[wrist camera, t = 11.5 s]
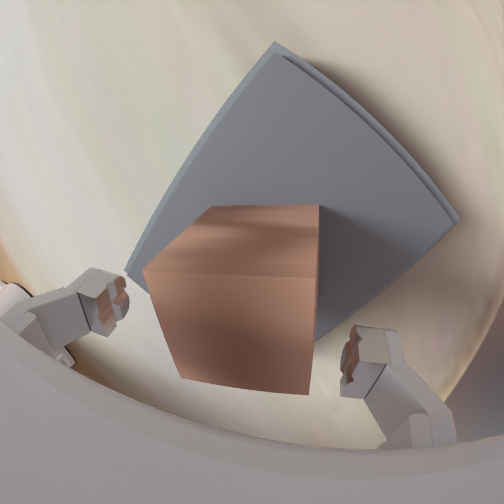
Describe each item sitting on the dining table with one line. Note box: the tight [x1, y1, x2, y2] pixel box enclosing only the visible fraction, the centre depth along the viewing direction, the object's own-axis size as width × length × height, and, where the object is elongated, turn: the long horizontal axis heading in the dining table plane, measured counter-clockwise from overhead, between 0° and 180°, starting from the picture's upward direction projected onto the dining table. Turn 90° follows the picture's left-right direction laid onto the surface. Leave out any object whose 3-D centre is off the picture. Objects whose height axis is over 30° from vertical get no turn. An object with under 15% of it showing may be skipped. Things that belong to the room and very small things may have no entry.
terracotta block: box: [142, 205, 319, 395], centre depth 11 cm, size 5×5×6 cm
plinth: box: [124, 41, 460, 341], centre depth 15 cm, size 16×12×4 cm
